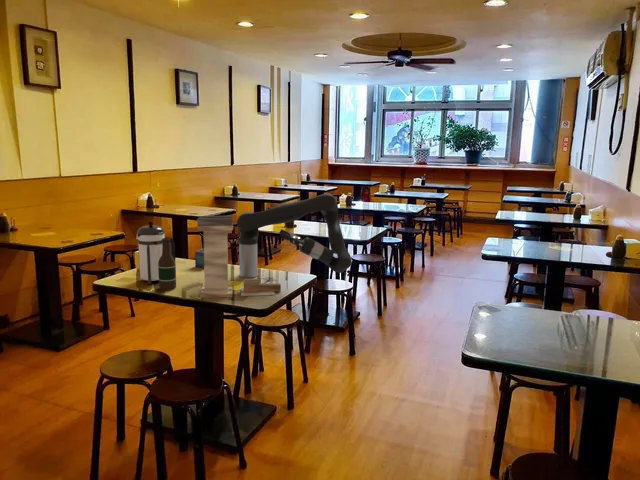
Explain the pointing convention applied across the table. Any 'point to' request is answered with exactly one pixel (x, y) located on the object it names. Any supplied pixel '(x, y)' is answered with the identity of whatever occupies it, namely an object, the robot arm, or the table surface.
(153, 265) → the coffee press
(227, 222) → the pedestal
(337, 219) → the robot arm
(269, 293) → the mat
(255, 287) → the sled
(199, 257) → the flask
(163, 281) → the beer bottle
